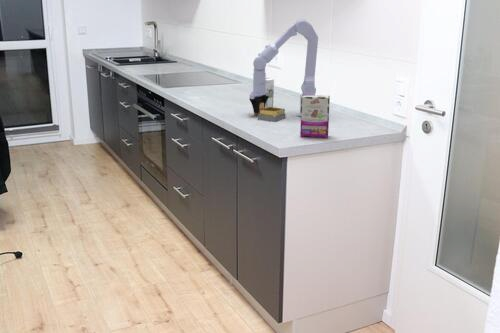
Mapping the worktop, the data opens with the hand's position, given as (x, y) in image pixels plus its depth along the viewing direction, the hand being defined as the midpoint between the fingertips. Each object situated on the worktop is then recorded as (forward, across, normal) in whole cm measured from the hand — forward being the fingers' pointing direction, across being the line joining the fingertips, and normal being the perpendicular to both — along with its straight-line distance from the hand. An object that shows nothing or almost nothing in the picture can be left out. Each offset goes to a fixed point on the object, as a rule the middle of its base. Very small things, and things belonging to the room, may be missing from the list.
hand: (259, 111), depth 265 cm
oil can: (+1, 0, 0) cm, 1 cm away
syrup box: (+2, -17, -6) cm, 18 cm away
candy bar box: (+2, +23, +39) cm, 45 cm away
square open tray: (+1, +4, +9) cm, 10 cm away
